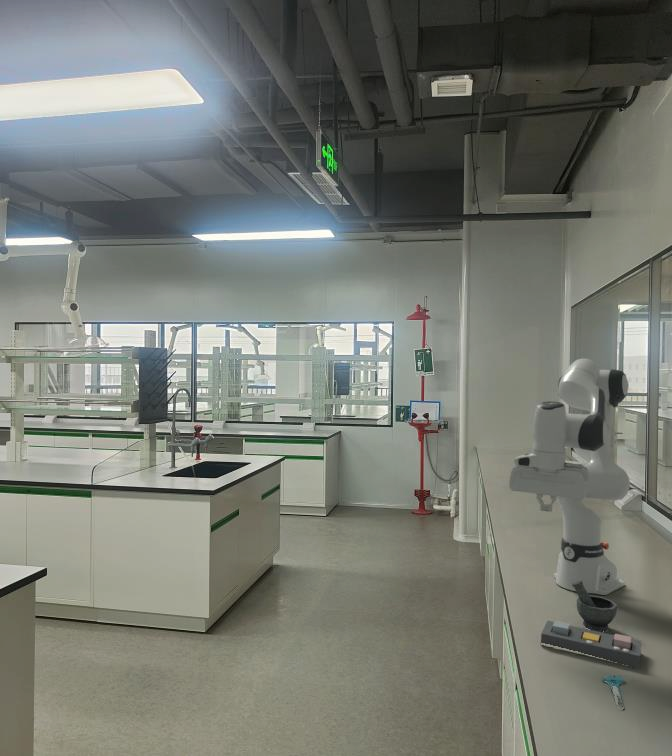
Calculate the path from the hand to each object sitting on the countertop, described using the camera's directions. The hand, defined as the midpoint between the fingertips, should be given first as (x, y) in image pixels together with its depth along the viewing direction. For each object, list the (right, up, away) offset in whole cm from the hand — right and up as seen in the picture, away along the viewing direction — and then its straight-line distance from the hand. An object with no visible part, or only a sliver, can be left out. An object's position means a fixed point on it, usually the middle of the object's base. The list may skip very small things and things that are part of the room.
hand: (546, 510), depth 173 cm
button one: (+5, -29, -19) cm, 35 cm away
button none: (-2, -27, -16) cm, 32 cm away
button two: (+11, -28, -22) cm, 37 cm away
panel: (+5, -30, -19) cm, 36 cm away
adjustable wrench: (+2, -31, -39) cm, 50 cm away
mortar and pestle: (+10, -30, -6) cm, 32 cm away
